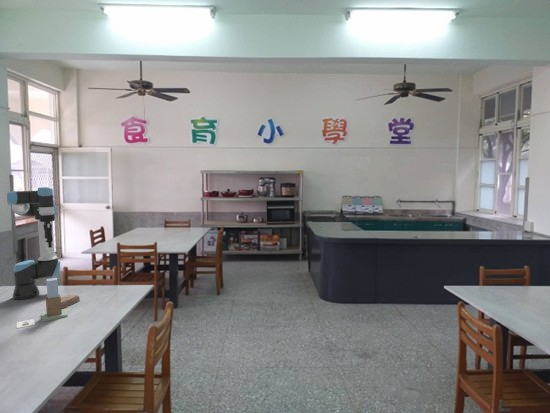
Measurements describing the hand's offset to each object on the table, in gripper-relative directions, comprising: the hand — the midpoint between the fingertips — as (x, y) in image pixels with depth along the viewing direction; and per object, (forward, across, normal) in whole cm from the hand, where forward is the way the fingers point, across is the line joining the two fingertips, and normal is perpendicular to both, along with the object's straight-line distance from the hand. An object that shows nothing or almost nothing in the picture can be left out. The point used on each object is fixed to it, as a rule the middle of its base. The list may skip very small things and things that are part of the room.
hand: (49, 251), depth 222 cm
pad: (+37, +4, 0) cm, 37 cm away
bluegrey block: (+26, +4, 0) cm, 26 cm away
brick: (+37, -14, +7) cm, 41 cm away
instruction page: (+37, +8, -14) cm, 40 cm away
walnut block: (+36, +4, 0) cm, 36 cm away
